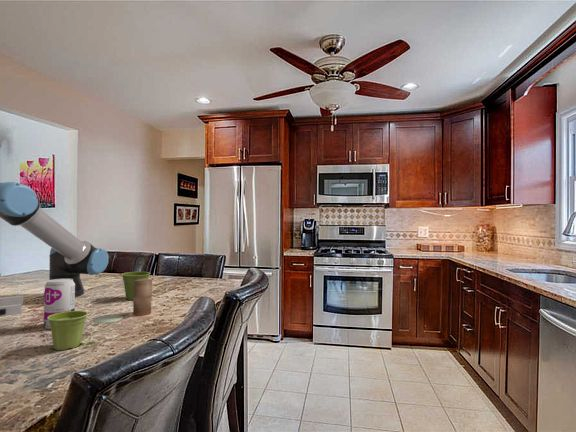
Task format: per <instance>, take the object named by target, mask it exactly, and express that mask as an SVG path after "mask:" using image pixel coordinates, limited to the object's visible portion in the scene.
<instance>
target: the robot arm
mask: <svg viewBox="0 0 576 432" xmlns="http://www.w3.org/2000/svg"><path fill="white" fill-rule="evenodd" d="M0 219H2V221H5V222H7V223H8V224H9V225H11V226H12V227H13V226H14V227H15V226H20V227H22V228H23V229H24V230H26V231H27V232H29V233H30V234H32V235H33V236H34V237H36V238H37V239H39V240H40V241H42V242H43V243H45V244H46V245H48V246H49V247H50V250H49V269H48V270H49V276H48V277H49V278H48V281H49V280H54V279H73V281H74V283H75V297H80V296H83V295H84V294H85V289H84V285H83V282H82V280H81V275H89V276H93V275H100V274H102V273H103V272H104V271H105V270H106V268H107V267H108V264H109V262H110V261H109V257H110V256H109V254H108V252H107V250H106V249H104V248H102V247H95V246H94V245H93V244H92V243H90V242H89V241H87V240H80V239H79V238H78V237H76V236H75V235H74V234H73V233H72V232H70V231H69V230H68V229H66V228H65V227H64V226H62V224H60V223H59V222H58V221H57V220H55V219H54V218H53V217H51V216H50V215H49V214H48V213H46V212H45V211H44V210H42V209H41V203H40V201H39V199H38V195H37V194H36V192H35V190H33V189H32V188H31V187H30V186H28V185H26V184H24V183H21V182H14V181H11V182H10V181H6V182H0ZM44 298H45V291H43V299H44ZM23 304H24V295H15V296H13V295H12V296H4V297H0V317H8V316H9V317H10V316H15V315H17V316H18V315H22V305H23Z"/></svg>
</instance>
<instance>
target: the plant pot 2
mask: <svg viewBox="0 0 576 432" xmlns="http://www.w3.org/2000/svg"><path fill="white" fill-rule="evenodd" d="M120 275H121V276H122V280H123V285H124V291H125V292H124V294H125V299H126V300H127V301H133V299H134V280H138V279H149V276H150V275H151V272H149V271H148V272H147V271H129V272H123V273H121V274H120Z"/></svg>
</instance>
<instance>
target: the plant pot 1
mask: <svg viewBox="0 0 576 432" xmlns="http://www.w3.org/2000/svg"><path fill="white" fill-rule="evenodd" d="M88 315H89V312H88V311H84V310H74V311H67V312H61V313H56V314H53V315H50V316H48V317H47V319H48V320H49V323H50V325H51V329H50V330H51V337H52V345H53V349H54V350H55V351H56V350H57V351H66V350H69V349H70V348H71V349H75V348H77V347H79V346H80V345H81V342H82V336H83V332H84V327H85V321H86V320H87V317H88Z"/></svg>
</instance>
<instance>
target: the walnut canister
mask: <svg viewBox="0 0 576 432" xmlns="http://www.w3.org/2000/svg"><path fill="white" fill-rule="evenodd" d="M152 292H153V280H152V279H150V278H148V279H138V280H134V299H133V300H132V301H133V305H132V306H133V307H132V308H133V310H132V312H133V315H135V316H145V315H149V314H151V310H152V296H153V295H152V294H153V293H152Z"/></svg>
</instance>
